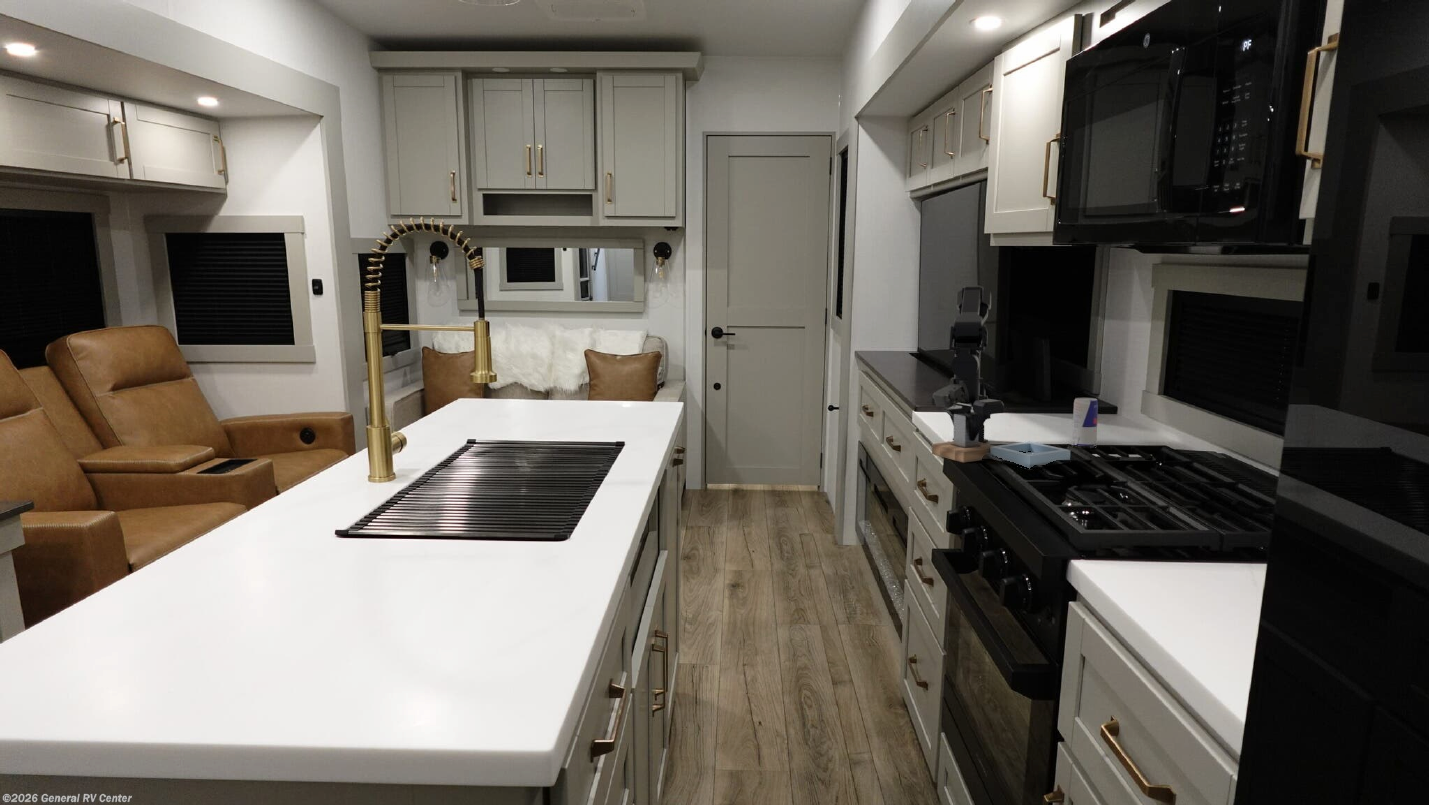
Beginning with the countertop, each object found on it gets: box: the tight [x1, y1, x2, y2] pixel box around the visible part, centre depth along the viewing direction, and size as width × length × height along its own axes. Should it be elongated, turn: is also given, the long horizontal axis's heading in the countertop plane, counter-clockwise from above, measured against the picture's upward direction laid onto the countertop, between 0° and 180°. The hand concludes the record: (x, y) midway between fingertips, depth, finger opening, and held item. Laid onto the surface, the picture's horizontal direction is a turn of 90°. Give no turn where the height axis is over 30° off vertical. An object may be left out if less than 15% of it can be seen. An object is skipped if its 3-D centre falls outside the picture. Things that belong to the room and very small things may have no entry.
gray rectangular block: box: [952, 413, 979, 448], centre depth 187 cm, size 4×4×10 cm
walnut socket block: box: [931, 440, 995, 463], centre depth 188 cm, size 11×11×2 cm
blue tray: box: [990, 441, 1071, 470], centre depth 180 cm, size 12×12×3 cm
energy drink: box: [1071, 397, 1099, 447], centre depth 193 cm, size 5×5×12 cm
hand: (965, 439), depth 188 cm, fingers closed on gray rectangular block, 4 cm apart
